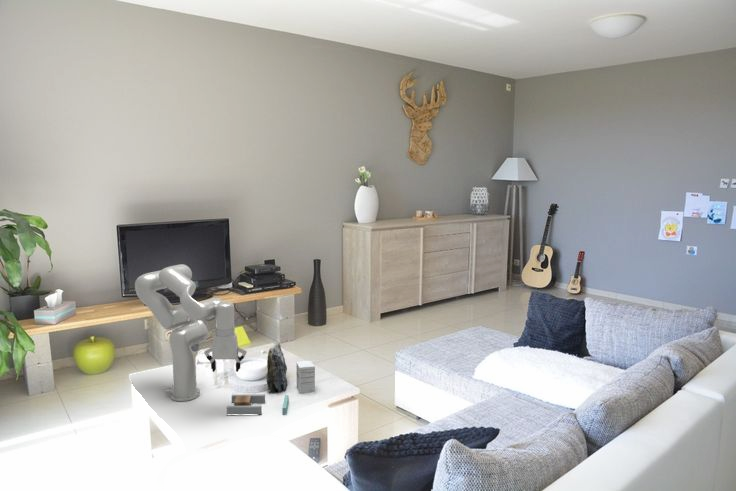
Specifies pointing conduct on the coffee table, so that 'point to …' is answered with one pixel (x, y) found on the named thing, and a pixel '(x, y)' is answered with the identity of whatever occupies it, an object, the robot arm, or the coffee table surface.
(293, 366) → the coffee table surface
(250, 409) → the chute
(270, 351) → the stone block
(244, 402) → the walnut block
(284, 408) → the bar
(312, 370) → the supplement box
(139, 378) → the coffee table surface
